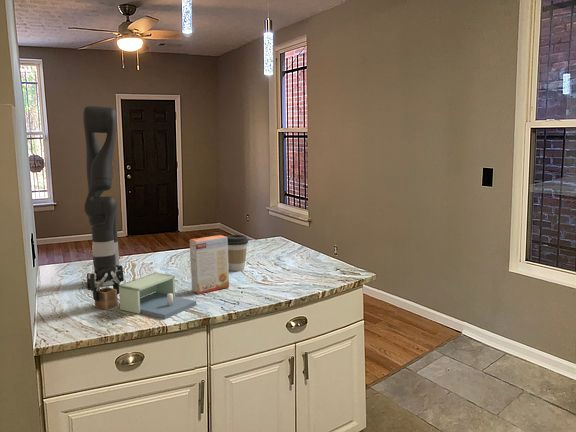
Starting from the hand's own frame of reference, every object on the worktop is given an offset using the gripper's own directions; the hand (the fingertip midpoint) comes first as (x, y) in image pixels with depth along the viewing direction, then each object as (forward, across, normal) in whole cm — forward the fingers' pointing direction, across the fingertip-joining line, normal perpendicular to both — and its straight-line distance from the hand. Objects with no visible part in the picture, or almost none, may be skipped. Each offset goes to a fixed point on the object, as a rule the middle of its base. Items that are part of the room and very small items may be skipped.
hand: (107, 297), depth 180 cm
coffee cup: (+3, -63, +12) cm, 64 cm away
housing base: (+4, -9, +16) cm, 19 cm away
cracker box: (+4, -34, +20) cm, 39 cm away
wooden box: (+3, 0, -1) cm, 3 cm away
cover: (+3, -9, +11) cm, 15 cm away
